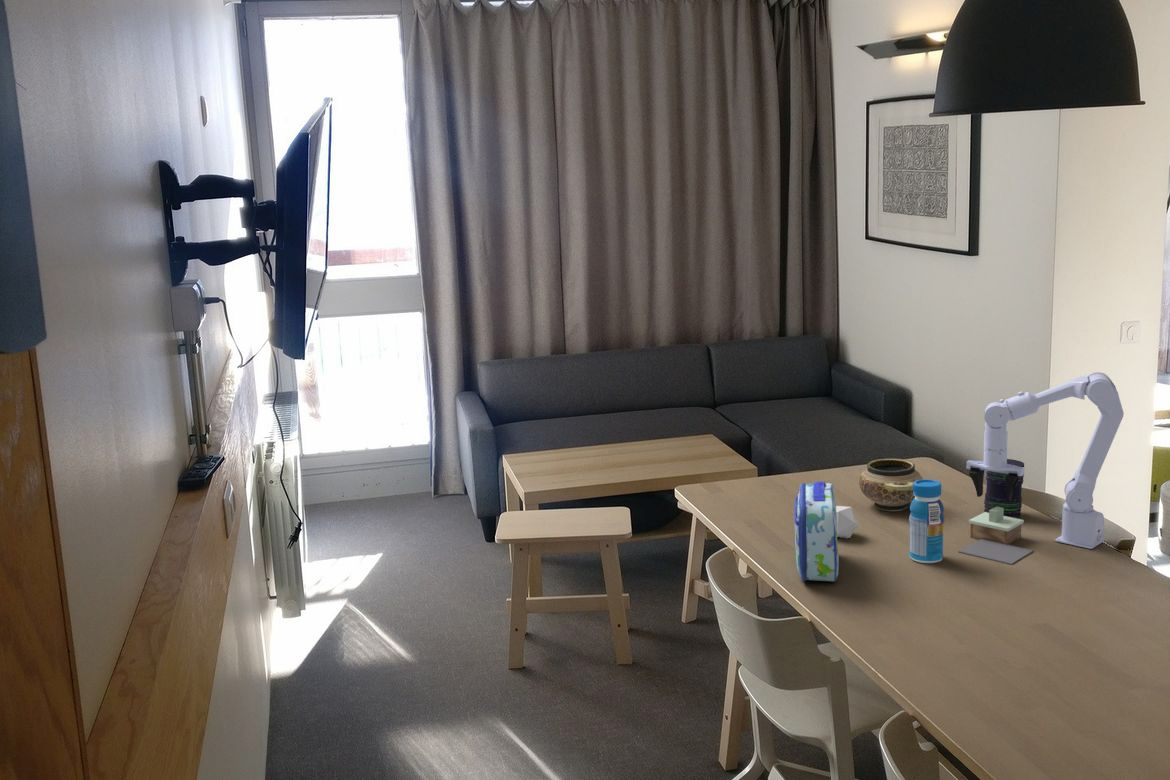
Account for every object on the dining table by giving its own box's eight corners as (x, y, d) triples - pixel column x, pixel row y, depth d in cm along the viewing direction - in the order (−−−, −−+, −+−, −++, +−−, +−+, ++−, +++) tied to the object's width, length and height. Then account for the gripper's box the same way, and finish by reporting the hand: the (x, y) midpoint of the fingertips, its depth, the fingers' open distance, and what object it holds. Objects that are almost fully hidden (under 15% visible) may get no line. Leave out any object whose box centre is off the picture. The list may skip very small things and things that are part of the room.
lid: (1023, 525, 284) (1024, 509, 283) (1007, 533, 278) (1008, 517, 277) (984, 516, 292) (984, 501, 291) (968, 525, 286) (968, 509, 285)
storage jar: (1026, 519, 297) (1029, 466, 295) (989, 518, 298) (993, 465, 295) (1014, 509, 307) (1017, 458, 305) (979, 509, 308) (982, 457, 305)
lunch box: (795, 550, 284) (794, 473, 280) (837, 551, 282) (837, 473, 277) (794, 587, 259) (793, 504, 255) (840, 589, 257) (840, 505, 252)
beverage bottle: (905, 561, 272) (906, 485, 267) (912, 550, 279) (913, 476, 275) (940, 566, 268) (941, 488, 264) (946, 554, 275) (947, 479, 271)
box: (1020, 537, 284) (1021, 522, 284) (1006, 545, 279) (1007, 530, 278) (984, 529, 292) (985, 515, 291) (970, 537, 286) (970, 523, 286)
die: (861, 534, 295) (844, 502, 298) (866, 528, 286) (848, 495, 289) (833, 547, 294) (816, 515, 298) (837, 542, 286) (819, 508, 289)
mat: (1033, 551, 274) (1033, 550, 274) (1011, 564, 266) (1011, 563, 266) (981, 539, 284) (981, 538, 284) (958, 552, 276) (958, 551, 276)
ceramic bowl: (856, 504, 327) (844, 458, 324) (913, 486, 327) (901, 441, 323) (880, 530, 303) (867, 482, 300) (941, 512, 303) (929, 463, 299)
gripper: (1029, 448, 281) (1027, 498, 283) (973, 441, 290) (973, 490, 293) (1019, 454, 275) (1017, 505, 278) (963, 447, 285) (962, 496, 288)
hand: (994, 498), depth 285 cm, fingers open, 7 cm apart
